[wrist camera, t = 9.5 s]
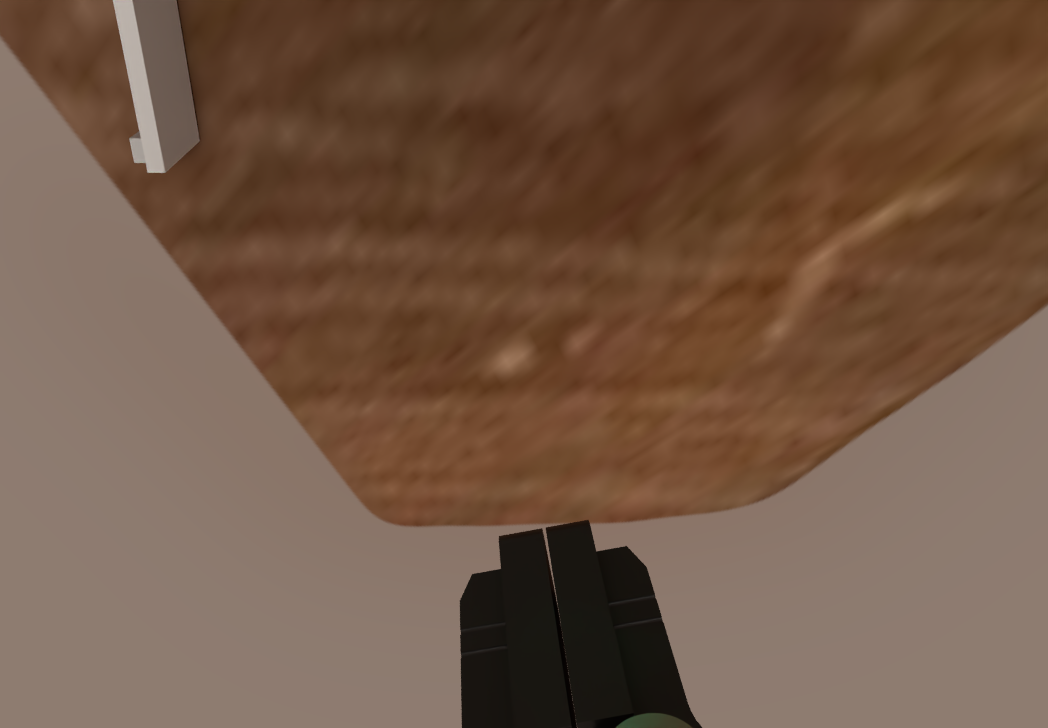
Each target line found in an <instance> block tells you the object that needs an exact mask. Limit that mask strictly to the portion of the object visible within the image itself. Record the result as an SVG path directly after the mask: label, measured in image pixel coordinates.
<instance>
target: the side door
mask: <svg viewBox="0 0 1048 728" xmlns="http://www.w3.org/2000/svg"><path fill="white" fill-rule="evenodd" d="M113 3H114V8H115V13H116V18H117V22H118V27H119V32H120V37H121V42H122V47H123V52H124V57H125V62H126V67H127V72H128V77H129V82H130V87H131V92H132V97H133V102H134V107H135V112H136V117H137V122H138V126H139V132H138V133H136V134H135V135H133V136H132V137H131V138H129V139H130V144H131V149H132V154H133V158H134V163H146V166H147V171H148V173H166V172H167V171H168V170H169V169H170V168H171V167H172V166H173V165H174V164H175V163H177V162H178V161H179V160H180V159H181V158H182V157H183V156H184V155H185V154H186V153H188V152H189V151H190V150H191V149H192V148H193V147H194V146H195V145H196V144H197V143H198V142H200V139H199V133H198V127H197V121H196V115H195V109H194V103H193V97H192V91H191V85H190V79H189V73H188V67H187V61H186V55H185V49H184V43H183V37H182V31H181V25H180V19H179V12H178V6H177V0H113Z"/></svg>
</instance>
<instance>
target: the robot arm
mask: <svg viewBox="0 0 1048 728" xmlns="http://www.w3.org/2000/svg"><path fill="white" fill-rule="evenodd" d="M546 533H547V539H548V546H549V552H550V558H551V565H552V571H553V577H554V583H555V589H556V595H555V590H554V585H553V580H552V575H551V570H550V565H549V560H548V555H547V550H546V545H545V540H544V535H543V530H542V529H536V530H531V531H526V532H520V533H514V534H509V535H503V536H499V548H500V561H501V569H499V570H493V571H487V572H482V573H476V574H472V576H471V578H470V580H469V582H468V585H467V587H466V589H465V591H464V593H463V595H462V598H461V600H460V630H461V635H460V638H461V698H462V699H461V701H462V728H702V727H701V726H700V724H699V723H698V722H697V721H696V719H695V717H694V716H693V714H692V712H691V710H690V708H689V705H688V702H687V699H686V696H685V693H684V689H683V686H682V682H681V679H680V676H679V673H678V669H677V666H676V663H675V659H674V656H673V653H672V649H671V646H670V643H669V640H668V636H667V633H666V630H665V626H664V623H663V621H662V618H661V617H662V616H661V613H660V610H659V606H658V603H657V600H656V598H655V593H654V590H653V587H652V583H651V580H650V577H649V573H648V571H647V567H646V566H645V565H644V564H643V563H642V562H641V561H640V560H639V559H638V558H637V557H636V555H634V553H632V551H631V550H630V549H629V548H628V547H627V546H625V547H620V548H614V549H608V550H603V551H597V552H596V549H595V544H594V540H593V536H592V531H591V527H590V523H589V520H585V521H580V522H574V523H569V524H563V525H557V526H552V527H547V528H546ZM556 596H557V601H556ZM557 603H558V606H557ZM558 609H559V612H558ZM559 615H560V617H559ZM560 622H561V623H560ZM561 628H562V629H561ZM562 634H563V635H562ZM563 641H564V642H563ZM564 647H565V648H564ZM565 653H566V654H565ZM566 660H567V661H566ZM567 666H568V667H567ZM568 672H569V673H568ZM569 679H570V680H569ZM570 685H571V686H570ZM571 691H572V692H571ZM572 698H573V699H572ZM573 704H574V705H573ZM574 710H575V711H574ZM575 717H576V718H575ZM576 723H577V724H576Z"/></svg>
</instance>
